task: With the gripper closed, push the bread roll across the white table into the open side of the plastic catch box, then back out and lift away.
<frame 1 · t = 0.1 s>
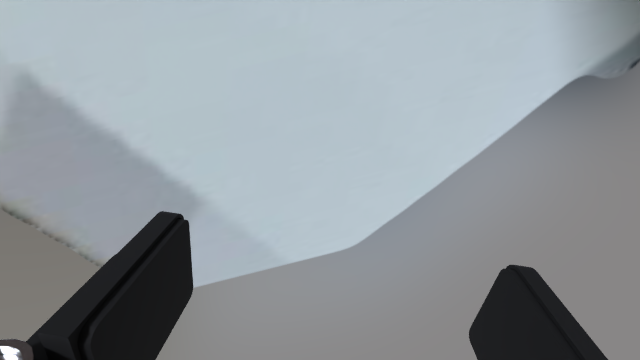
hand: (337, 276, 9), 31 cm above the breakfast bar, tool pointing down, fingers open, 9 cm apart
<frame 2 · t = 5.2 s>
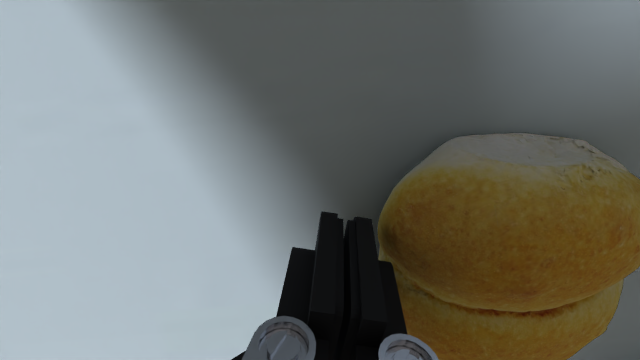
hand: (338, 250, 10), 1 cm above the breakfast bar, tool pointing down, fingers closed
bread roll: (474, 232, 12), on the breakfast bar, touching gripper
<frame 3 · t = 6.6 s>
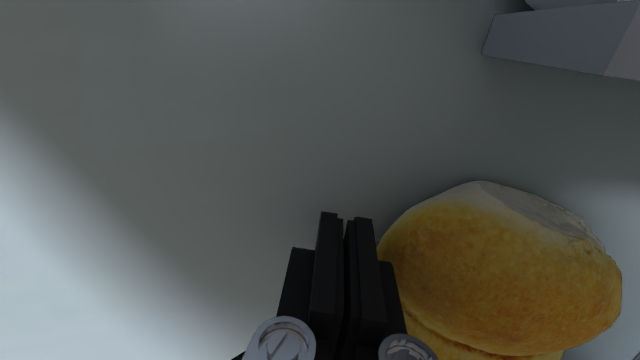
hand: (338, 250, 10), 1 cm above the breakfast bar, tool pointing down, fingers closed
catch box: (576, 261, 12), on the breakfast bar
bread roll: (455, 268, 13), on the breakfast bar, touching gripper
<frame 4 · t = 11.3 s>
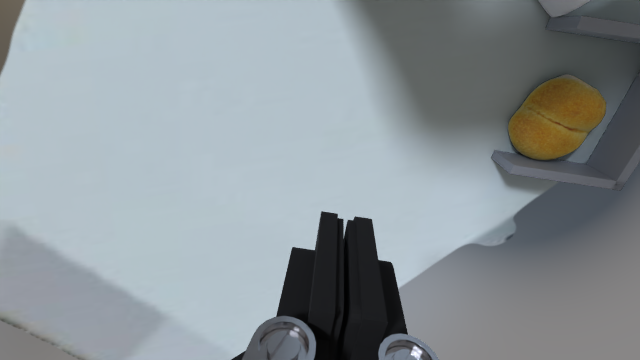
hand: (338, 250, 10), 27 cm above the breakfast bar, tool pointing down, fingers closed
catch box: (571, 103, 33), on the breakfast bar
bread roll: (546, 115, 34), on the breakfast bar
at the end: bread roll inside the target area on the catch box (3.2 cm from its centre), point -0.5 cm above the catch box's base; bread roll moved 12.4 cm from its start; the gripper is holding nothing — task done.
